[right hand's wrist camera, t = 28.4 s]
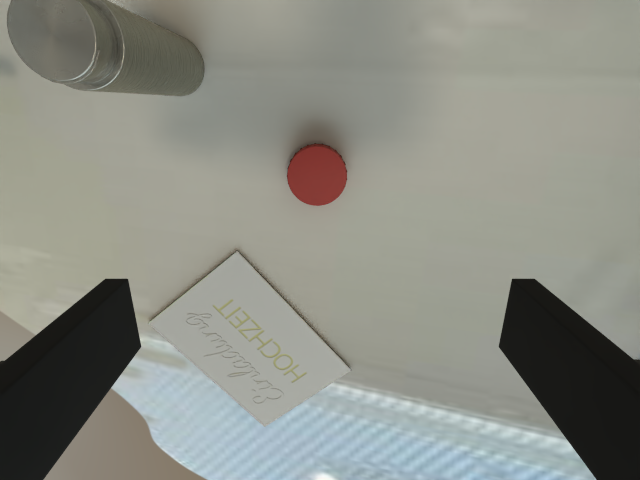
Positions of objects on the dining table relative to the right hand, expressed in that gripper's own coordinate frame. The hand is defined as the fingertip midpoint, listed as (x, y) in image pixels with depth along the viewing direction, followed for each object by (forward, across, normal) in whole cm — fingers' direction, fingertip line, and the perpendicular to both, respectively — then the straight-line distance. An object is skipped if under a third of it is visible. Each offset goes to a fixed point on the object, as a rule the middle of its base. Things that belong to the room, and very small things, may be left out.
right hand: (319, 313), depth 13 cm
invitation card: (+28, +8, +22) cm, 37 cm away
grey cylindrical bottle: (+28, +14, -10) cm, 33 cm away
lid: (+26, 0, 0) cm, 26 cm away
